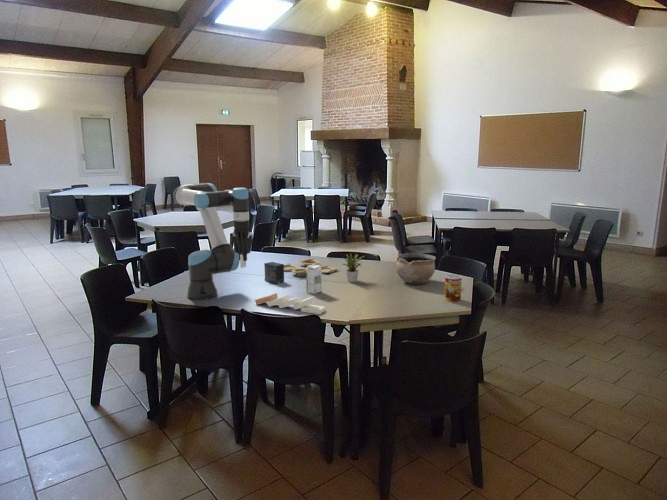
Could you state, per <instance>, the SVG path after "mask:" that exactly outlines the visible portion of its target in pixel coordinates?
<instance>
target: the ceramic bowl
mask: <svg viewBox="0 0 667 500" xmlns="http://www.w3.org/2000/svg"><path fill="white" fill-rule="evenodd" d="M396 259H397V260H396V264H395V270H396V273H397V274H398V276H399V278H400V279H401V280H402V281H403V282H405V283H407V284H411V285H421V284H424V283H427V281H429V280H430V279H432V277H433V276H434V274H435V271H436V264H435V263H436V262H435V261H436V259H437V257H436V256H434V255H432V254H427V253H421V252H419V253H418V252H417V253H415V252H414V253H413V252H411V253H410V252H405V253H399V254H397V255H396Z"/></svg>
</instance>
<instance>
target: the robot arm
mask: <svg viewBox="0 0 667 500" xmlns="http://www.w3.org/2000/svg"><path fill="white" fill-rule="evenodd" d="M172 196H173V199H174V201H175V202H176V203H177V204H178V205H181V206H195V208H196V210H197V211H200V215H201V218H202V221H203V224H204V227H205V230H206V235H207V236H208V239H209V242H210V245H211V249H201V250H197V251H193V252H191V253H190V254H188V257H187V258H188V261H187V265H188V274H189V284H188V287H187V289H188V290H187V292H186V293H187V298H188V299H190V298H191V299H190V300H207V299H206V298H208V299H211V298H210V297H212V298H214V297H213V296H215V297H216V296H217V295H218V289H217V288H216V285H215V282H214V277H213V276H214V275H217V274H223V273H230V272H233V271H236V270H237V269H238V268H239V266H240V269H241V268H242V269H244V268H245V267H247V261H248V254H251V251H252V246H253V240H254V237H255V234H252V233H251V231H250V210H249V209H250V206H249V196H250V195H249V190H248V188H246V187H234V188H232V189H225V190H219V191H218V190H217V187H216V186H215V185H214V184H213V183H211V182H210V183H209V182H202V183H187V184H182V185H179V186H177V187H176V188H175V190H174V192H173V194H172ZM230 206H231V207H232V211H233V212H232V214H233V228H234V229H233V231H232V232H230V234H229V236H230V238H231V240H232V244H230V243H229V242H228V240H227V237H226V234H225V231H224V228H223V225H222V223H221V219H220V217H219V213H218V210H217V208H219V207H220V208H221V207H230ZM232 245H233V246H232Z"/></svg>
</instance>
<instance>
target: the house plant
mask: <svg viewBox="0 0 667 500" xmlns="http://www.w3.org/2000/svg"><path fill="white" fill-rule="evenodd" d="M349 254H350V256H349V255H348V254H346V258H345V257H343V256H342V257H343V259H344V260H345V261H346V263H341V265H343V266H346V267H347V269H345V272H346V279H347V282H349V283H357V281H358V276H359V275H358V274H359V269H357V268H358V267H361V266H362V265H363V264H362V263H363V260H364V257H365V255H363V256H360V257H358V256H359V254H357V253H355V254H354V256H353V255H352V253H351V252H350V253H349ZM359 261H362V262H359Z"/></svg>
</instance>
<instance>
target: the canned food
mask: <svg viewBox="0 0 667 500" xmlns="http://www.w3.org/2000/svg"><path fill="white" fill-rule="evenodd" d="M444 299H445V300H446V302H447V301H448V303H452V302H456V303H460V302H461V299H462V276H461V275H457V274H447V275H445V276H444ZM445 300H444V301H445ZM459 301H460V302H459Z"/></svg>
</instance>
